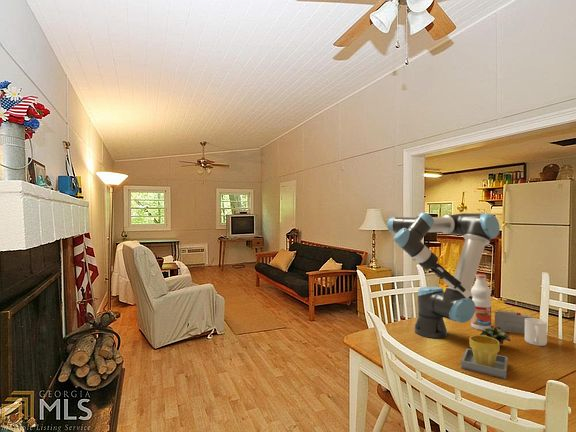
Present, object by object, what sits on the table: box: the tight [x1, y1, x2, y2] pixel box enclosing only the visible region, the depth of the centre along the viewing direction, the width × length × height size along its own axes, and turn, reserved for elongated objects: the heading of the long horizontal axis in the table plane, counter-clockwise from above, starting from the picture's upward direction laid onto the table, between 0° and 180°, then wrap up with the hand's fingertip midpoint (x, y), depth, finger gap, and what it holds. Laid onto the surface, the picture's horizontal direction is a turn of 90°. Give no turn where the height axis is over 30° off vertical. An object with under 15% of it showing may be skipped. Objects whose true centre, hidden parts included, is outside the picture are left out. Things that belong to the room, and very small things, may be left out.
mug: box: [524, 317, 548, 347], centre depth 151 cm, size 12×8×10 cm
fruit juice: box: [470, 273, 492, 331], centre depth 173 cm, size 9×9×28 cm
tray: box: [460, 347, 509, 380], centre depth 130 cm, size 15×15×3 cm
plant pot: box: [468, 334, 501, 367], centre depth 130 cm, size 10×10×10 cm
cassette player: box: [494, 310, 534, 335], centre depth 167 cm, size 16×3×10 cm, turn 63°
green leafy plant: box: [479, 325, 512, 345], centre depth 148 cm, size 11×11×12 cm
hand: (462, 291), depth 140 cm, fingers open, 13 cm apart
